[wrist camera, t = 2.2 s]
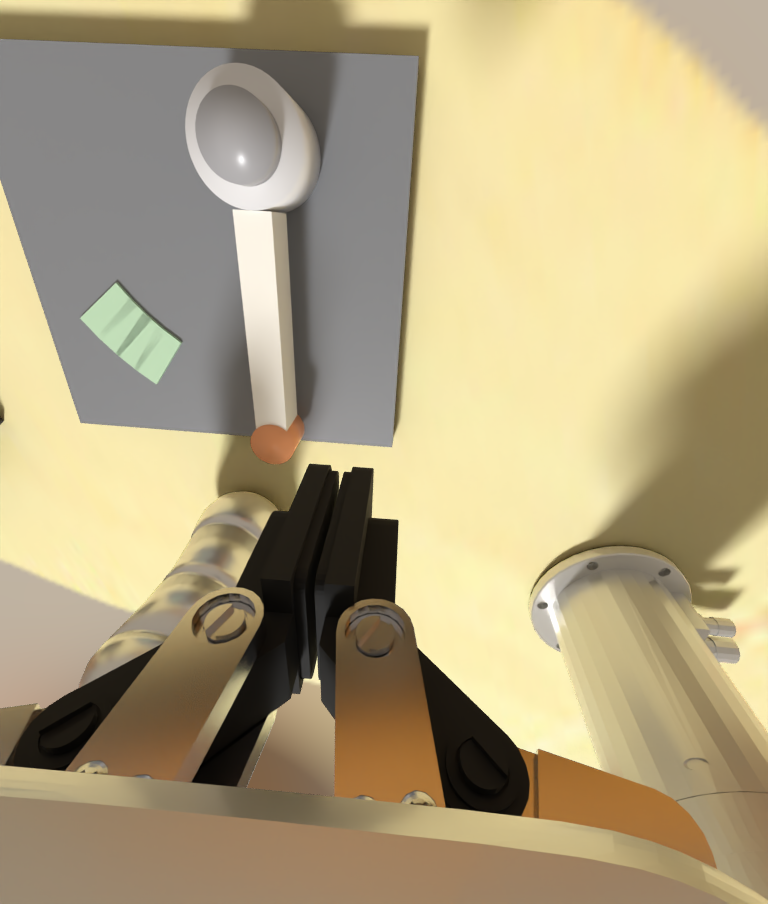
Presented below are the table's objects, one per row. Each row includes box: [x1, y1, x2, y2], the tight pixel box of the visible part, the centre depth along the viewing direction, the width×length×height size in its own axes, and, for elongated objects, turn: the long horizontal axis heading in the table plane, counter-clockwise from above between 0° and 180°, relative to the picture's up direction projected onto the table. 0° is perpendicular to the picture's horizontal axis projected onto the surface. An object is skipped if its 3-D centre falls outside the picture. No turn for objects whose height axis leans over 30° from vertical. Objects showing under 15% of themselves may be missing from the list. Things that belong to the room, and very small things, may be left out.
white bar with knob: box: [185, 63, 321, 464], centre depth 22 cm, size 5×18×5 cm, turn 177°
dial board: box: [0, 39, 419, 447], centre depth 24 cm, size 22×20×2 cm
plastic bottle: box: [78, 491, 278, 688], centre depth 25 cm, size 6×7×20 cm
